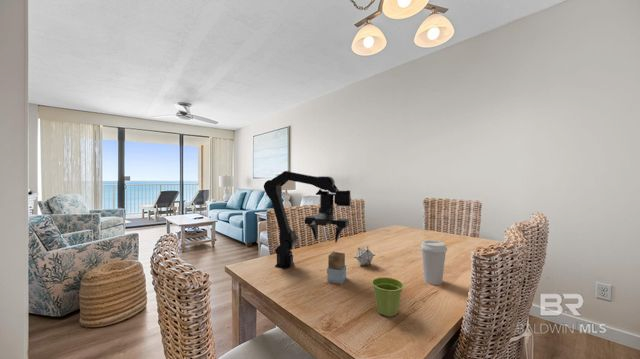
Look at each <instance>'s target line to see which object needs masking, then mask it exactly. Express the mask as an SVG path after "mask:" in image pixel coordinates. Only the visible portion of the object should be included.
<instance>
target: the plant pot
mask: <svg viewBox="0 0 640 359" xmlns="http://www.w3.org/2000/svg"><path fill="white" fill-rule="evenodd" d="M371 285H372V288H373V290H374V297H375V306H376V310H377V313H378V314H381V315H383V316H384V317H394V316H396V315H397V314H398V312H399V305H400V300H401V293H402V292H403V289H404V283H403V282H402V281H401V280H399V279H396V278H392V277H386V276H385V277H383V276H381V277H380V276H379V277H376V278H373V279H372V280H371Z"/></svg>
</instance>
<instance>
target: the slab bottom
mask: <svg viewBox="0 0 640 359" xmlns="http://www.w3.org/2000/svg"><path fill="white" fill-rule="evenodd" d="M346 279H347V275H346V276H345V278H344V280H343V281H338V280H331V279H328V278H327V283H333V284H339V283H340V285H343V284H344V282H345V281H346Z"/></svg>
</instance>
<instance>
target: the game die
mask: <svg viewBox="0 0 640 359" xmlns="http://www.w3.org/2000/svg"><path fill="white" fill-rule="evenodd" d="M357 249H358V250H357V252H356V256H354V257H353V258H354V259H356V260H357V261H358V262H359V264H360V267H362V266H364V265H370V266H372V260H373V258H374V257H375V256H376V254H374V253H373V252H372V251H371V250H370V249H369V246H366V247H363V248H360V247H357Z"/></svg>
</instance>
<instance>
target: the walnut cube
mask: <svg viewBox="0 0 640 359" xmlns="http://www.w3.org/2000/svg"><path fill="white" fill-rule="evenodd" d="M345 255H346V253H344V252H338V251H337V252H336V251H333V252H331V253H329V254H328V256H327V257H328V258H327V259H328V262H327V263H328V265H327V268H330V269H336V270H341V269H342V268H343V267H344V266H345V265H346V264H345V263H346V259H345V258H346V256H345Z"/></svg>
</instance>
